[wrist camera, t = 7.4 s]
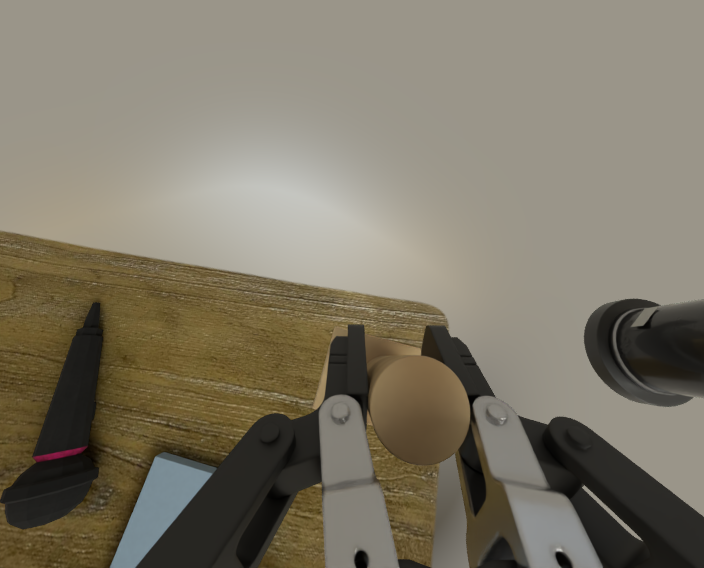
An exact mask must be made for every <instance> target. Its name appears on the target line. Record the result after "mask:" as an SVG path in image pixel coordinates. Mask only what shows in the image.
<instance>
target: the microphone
mask: <svg viewBox="0 0 704 568" xmlns="http://www.w3.org/2000/svg"><path fill="white" fill-rule="evenodd" d="M99 318H100V303H97V302H95V303H93V304H92V307H91V309H90V311H89V313H88V315H87V317H86V320H85V323H84V326H83V328H81V329H78V330H77V332H76V336H75V337H74V338H73V340H72V343H71V346H70V349H69V352H68V355H67V358H66V360H65V363H64V366H63V369H62V372H61V375H60V378H59V381H58V384H57V387H56V389H55V392H54V395H53V398H52V401H51V404H50V407H49V410H48V413H47V416H46V418H45V421H44V424H43V427H42V430H41V433H40V436H39V439H38V442H37V445H36V448H35V450H34V453H33V456H32V457H33V458H34V459H35V461H36V462H37V463H35V464H34V465H33V466H31V467H30V468H29V469H27V470H26V471H25V472H23V473H22V474H21V475H20V476H19V477H18V478H17V480H16V481H15V482H14V483H13V485H12V486H11V487H9V488H6V489H4V491H3V494H2V497H1V499H0V502H1V503H3V504H5V514H6V518H7V522H8V523H9V524H10V525H13V526H15V527H18V528H20V529H27V528H32V527H37V526H41V525H45V524H47V523H50V522H52V521H54V520H57V519H59V518H61V517H63V516H65V515H67V514H68V513H69V512H70V511H71V510H73V509H74V508H75V507H76V506H77V505H78V504H80V503H81V502H82V501H83V499H84V497H85V496H86V494H87V492H88V491H89V488H90V486H91V483H92V481H93V480H94V479H96V478H97V477H98V472H99V467H94V465H93V463H92V461H91V459H90V458H88V457H87V456H85V455H83V454H82V452H83V451H84V450H85V449H86V448H87V447H88V442H89V435H90V428H91V421H92V420H93V419H94V415H95V408H96V402H94V399H95V392H96V385H97V377H98V370H99V363H100V356H101V348H102V341H103V337H101V336H102V332H103V330H101V329H99V328H98V327H99Z"/></svg>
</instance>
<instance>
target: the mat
mask: <svg viewBox="0 0 704 568" xmlns="http://www.w3.org/2000/svg"><path fill="white" fill-rule="evenodd" d="M216 469H217V468H215V467H212V466H209V465H206V464H202V463H199V462H196V461H192V460H189V459H186V458H183V457H179V456H176V455H173V454H170V453H166V452H163V453H161V454H159V455H157V456H156V457H155V459H154V461H153V464H152V466H151V469H150V471H149V473H148V476H147V478H146V481H145V483H144V486H143V488H142V491H141V493H140V495H139V498H138V500H137V503H136V505H135V508H134V510H133V512H132V515H131V517H130V520H129V522H128V525H127V527H126V529H125V532H124V534H123V537H122V539H121V542H120V544H119V546H118V549H117V551H116V554H115V556H114V559H113V561H112V564H111V566H110V568H135V567H136V566H137V565H138V564H139V562H140V561H141V560H142V559H143V558H144V556H145V555H146V554H147V553H148V551H149V550H150V549H151V548H152V547H153V545H154V544H155V543H156V542H157V541H158V539H159V538H160V537H161V536H162V535H163V533H164V532H165V531H166V530H167V528H168V527H169V526H170V525H171V524H172V522H173V521H174V520H175V519H176V518H177V516H178V515H179V514H180V513H181V512H182V510H183V509H184V508H185V507H186V505H187V504H188V503H189V502H190V501H191V499H192V498H193V497H194V496H195V495H196V493H197V492H198V491H199V490H200V489H201V487H202V486H203V485H204V484H205V482H206V481H207V480H208V479H209V478H210V476H211V475H212V474H213V473H214V472H215V470H216Z"/></svg>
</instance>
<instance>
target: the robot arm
mask: <svg viewBox="0 0 704 568" xmlns="http://www.w3.org/2000/svg"><path fill="white" fill-rule="evenodd" d="M609 347H610V351H611V354H612V356H613V359H614V361H615V362H616V364H617V366H618V367H619V369H620V370H621V371H622V372H623V374H624V375H625V376H626V377H627V378H628V379H629V380H631V381H632V382H633V383H635V384H636V385H637V386H639V387H641V388H643V389H645V390H647V391H650V392H653V393H657V394H665V395H681V396H689V397H698V398H704V299H701V300H695V301H688V302H682V303H676V304H669V305H663V306H657V307H650V308H638V309H632V310H628V311H625V312H623V313H621V314H620V315H619V316H617V317H616V318H615V320H614V321H613V323H612V325H611V327H610V330H609ZM421 356H427V357H430V358H433V359H436V360H438V361H440V362H442V363H443V364H445V365H446V366H447V367H448V368H450V369H451V370H452V371H453V372H454V373H455V374H456V376H457V377H458V378H459V380H460V381H461V383H462V385H463V386H464V389H465V391H466V393H467V397H468V400H469V405H470V424H469V429H468V432H467V435H466V437H465V439H464V442H463V443H462V445H461V446H460V448H459V449H458V450H457V451H456V452H455V456H456V462H457V467H458V473H459V479H460V484H461V490H462V495H463V500H464V506H465V511H466V518H467V533H466V544H467V554H468V561H469V567H470V568H704V517H703V516H702V515H701V514H699V513H698V512H697V511H695V510H694V509H693V508H692V507H690V506H689V505H688V504H686V503H685V502H684V501H683V500H681V499H680V498H679V497H677V496H676V495H675V494H673V493H672V492H671V491H670V490H668V489H667V488H666V487H664V486H663V485H662V484H660V483H659V482H658V481H656V480H655V479H654V478H653V477H651V476H650V475H649V474H648V473H646V472H645V471H644V470H642V469H641V468H640V467H639V466H637V465H636V464H635V463H633V462H632V461H631V460H630V459H628V458H627V457H626V456H624V455H623V454H622V453H621V452H619V451H618V450H617V449H615V448H614V447H613V446H611V445H610V444H609V443H607V442H606V441H605V440H604V439H602V438H601V437H600V436H598V435H597V434H596V433H594V432H593V431H592V430H591V429H589V428H588V427H587V426H585V425H583V424H582V423H580V422H578V421H576V420H573V419H571V418H567V417H556V418H553V419H552V420H551V422H550V423H549V424H548V425H547V424H544V423H540V422H537V421H533V420H530V419H526V418H523V417H520V416H518V415H517V413H516V412H515V411H514V410H513V409H512V407H510V406H509V405H508V404H507V403H505V402H504V401H502V400H500V399H498V398H496V397H495V395H494V393H493V392H492V390H491V388H490V386H489V385H488V383H487V381H486V379H485V378H484V376H483V374H482V372H481V370H480V369H479V367H478V366H477V365H476V362H475V360H474V358H473V357H472V355H471V353H470V351H469V349H468V348H467V346H466V345H465V344H464V343H463V342H462V341H461V340H459V339H458V338H457V337H454V338H453V337H451V336H450V335H449V333H448V331H447V329H446V327H445V326H426V329H425V333H424V339H423V344H422V349H421ZM368 395H369V391H368V376H367V362H366V347H365V332H364V325H348V336H336V337H335V338H334V340H333V341H332V343H331V344H330V352H329V361H328V370H327V380H326V389H325V396H324V400H323V402H322V404H321V405H320V406H319V407H318V408H317V409H316V410H315V411H314V412H312V413H311V414H309V415H306V416H303V417H300V418H297V419H294V420H290V419H289V418H288V417H287V416H285V415H283V414H276V413H274V414H269V415H266V416H264V417H262V418H261V419H259V420H258V421H257V422H255V423H254V424H253V426H252V427H251V428H250V429H249V430H248V432H247V433H246V434H245V435H244V436H243V438H242V439H241V440H240V441H239V443H238V444H237V445H236V446H235V447H234V449H233V450H232V451H231V452H230V453H229V455H228V456H227V457H226V458H225V459H224V461H223V462H222V463H221V464H220V466H219V467H218V468H217V469H216V470H215V472H214V473H213V474H212V475H211V476H210V478H209V479H208V480H207V481H206V482H205V484H204V485H203V486H202V487H201V489H200V490H199V491H198V492H197V493H196V495H195V496H194V497H193V498H192V499H191V501H190V502H189V503H188V504H187V505H186V507H185V508H184V509H183V510H182V512H181V513H180V514H179V515H178V516H177V518H176V519H175V520H174V521H173V522H172V524H171V525H170V526H169V527H168V528H167V530H166V531H165V532H164V533H163V535H162V536H161V537H160V538H159V539H158V541H157V542H156V543H155V544H154V545H153V547H152V548H151V549H150V550H149V551H148V553H147V554H146V555H145V556H144V558H143V559H142V560H141V561H140V562H139V564H138V565H137V566H136V567H135V568H257V567H258V565H259V564H260V562H261V560H262V558H263V556H264V554H265V552H266V551H267V549H268V547H269V545H270V543H271V541H272V539H273V537H274V536H275V534H276V532H277V530H278V528H279V526H280V524H281V523H282V521H283V519H284V517H285V515H286V513H287V511H288V510H289V508H290V506H291V504H292V502H293V500H294V498H295V496H296V495H297V493H298V491H300V490H303V489H305V488H308V487H310V486H313V485H315V484H318V483H320V482H322V505H323V527H324V548H325V568H430V567H428V566H425V565H422V564H420V563H417V562H414V561H412V560H407V559H397V555H396V550H395V545H394V541H393V536H392V532H391V527H390V523H389V518H388V514H387V509H386V505H385V500H384V496H383V492H382V488H381V485H380V482H379V480H378V479H377V478H376V476H375V472H374V468H373V463H372V458H371V454H370V449H369V444H368V439H367V435H366V426H367V411H368V403H367V402H368ZM584 485H585V486H586V487H587V488H588V489H589V490H590V491H591V492H593V493H594V494H595V495H596V496H597V497H598V498H599V499H600V500H601V501H602V502H603V503H604V504H605V505H606V506H608V507H609V508H610V509H611V510H612V511H613V512H614V513H615V514H616V515H617V516H618V517H619V518H620V519H621V520H622V521H623V522H624V523H625V524H627V525H628V526H629V527H630V528H631V529H632V530H633V531H634V532H635V533H636V534H637V535H638V536H639V537H640V538H641V539H642V540H643V541H644V542H643V541H641V540H638V539H637V538H635V537H634V536H632V535H631V534H630V533H629V532H628V531H626V530H625V529H624V528H623V527H622V526H621V525H620V524H619V523H618V522H617V521H616V520H615V519H614V518H613V517H612V516H611V515H610V514H609V513H608V512H607V511H606V510H604V509H603V508H602V507H601V506H600V505H599V504H598V503H597V502H596V501H595V500H594V499H593V498H592V497H591V496H590V495H589V494H588V493H587V492H586V491H584V489H583V488H582V487H583V486H584Z"/></svg>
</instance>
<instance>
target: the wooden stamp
mask: <svg viewBox="0 0 704 568" xmlns="http://www.w3.org/2000/svg"><path fill="white" fill-rule="evenodd" d="M336 336H348V329H344V328H341V327H337V326H336V327H334V331H333V335H332V338H331V342H330V344H331V343H332V341H333V340H334V338H335V337H336ZM365 347H366V362H367V376H368V391H369V395H368V402H367V403H368V411H367V424H368V425H372V426H373V427H374V430H375V432H376V434H377V436H378V438H379V440H380V441H381V443H382V444H383V445H384V446H385V448H386V449H387V450H388V451H389V452H390V453H392V454H393V455H394V456H396V457H397V458H399V459H401V460H403V461H405V462H407V463H410V464H415V465H433V464H437V463H440V462H442V461H444V460H446V459H448V458H449V457H451V456H452V455H453V454H454V453H455V452H456V451H457V450H458V449H459V448H460V446H461V445H462V443H463V442H464V439H465V437H466V435H467V432H468V429H469V424H470V405H469V400H468V397H467V393H466V391H465V389H464V386H463V385H462V383H461V381H460V380H459V378H458V377H457V376H456V374H455V373H454V372H453V371H452V370H451V369H450V368H448V367H447V366H446V365H445V364H443V363H442V362H440V361H438V360H436V359H433V358H430V357H427V356H421V349H420V348H417V347H413V346H409V345H405V344H401V343H398V342H394V341H390V340H386V339H382V338H379V337H375V336H371V335H367V334H365ZM329 352H330V345H329V349H328V353H327V356H326V360H325V364H324V367H323V371H322V374H321V378H320V382H319V385H318V389H317V393H316V396H315V400H314V403H313V409H317V408H318V407H319V406H320V405H321V404H322V402H323V400H324V396H325V389H326V380H327V370H328V361H329Z"/></svg>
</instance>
